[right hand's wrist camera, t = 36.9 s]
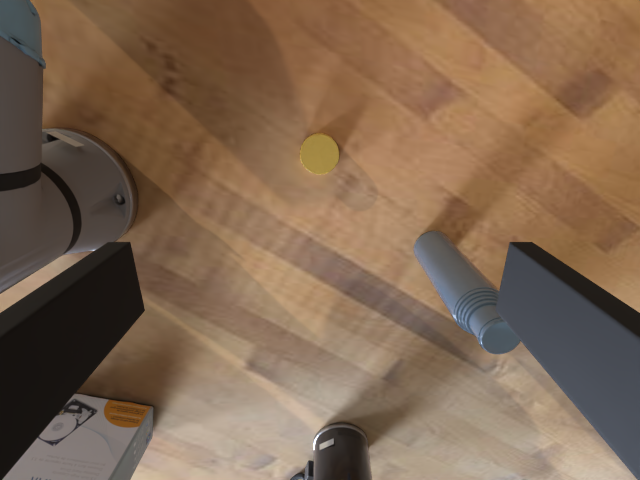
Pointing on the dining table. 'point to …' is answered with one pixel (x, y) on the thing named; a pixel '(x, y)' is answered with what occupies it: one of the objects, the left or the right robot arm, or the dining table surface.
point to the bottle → (464, 292)
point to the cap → (319, 153)
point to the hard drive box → (88, 442)
